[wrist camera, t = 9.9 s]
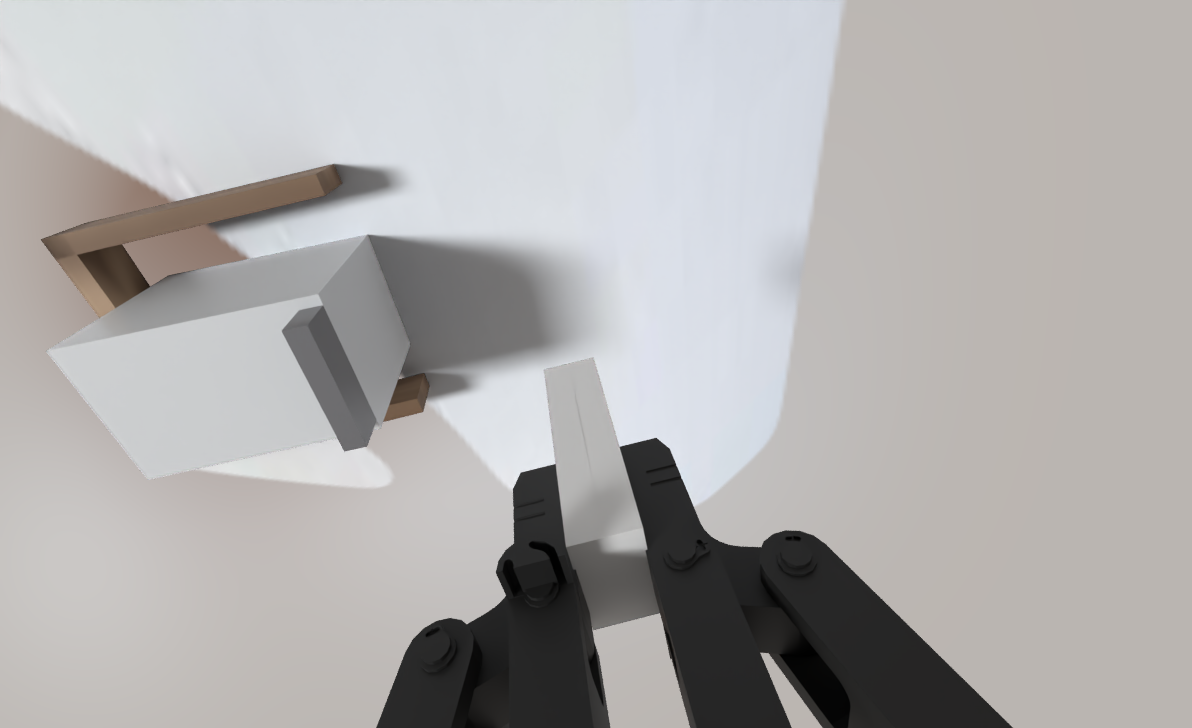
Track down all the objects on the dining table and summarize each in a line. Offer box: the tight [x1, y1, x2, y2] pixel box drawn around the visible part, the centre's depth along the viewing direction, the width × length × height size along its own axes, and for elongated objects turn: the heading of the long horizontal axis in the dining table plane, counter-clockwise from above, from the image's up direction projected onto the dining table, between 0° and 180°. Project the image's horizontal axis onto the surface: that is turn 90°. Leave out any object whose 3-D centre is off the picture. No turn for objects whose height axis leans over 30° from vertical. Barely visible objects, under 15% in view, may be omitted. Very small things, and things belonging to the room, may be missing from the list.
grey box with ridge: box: [46, 235, 411, 480], centre depth 27 cm, size 7×11×11 cm, turn 99°
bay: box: [41, 164, 429, 422], centre depth 30 cm, size 14×13×3 cm
